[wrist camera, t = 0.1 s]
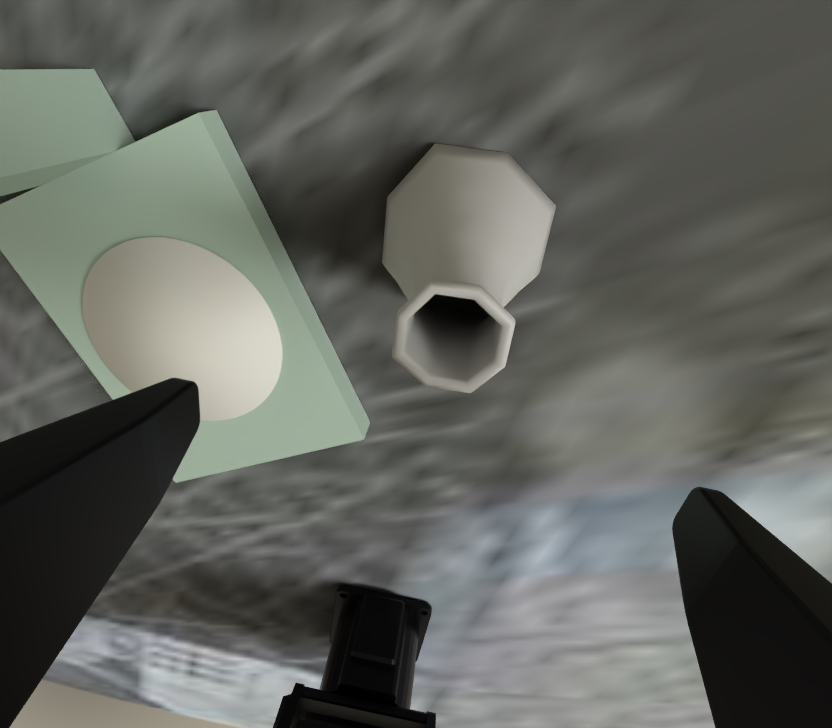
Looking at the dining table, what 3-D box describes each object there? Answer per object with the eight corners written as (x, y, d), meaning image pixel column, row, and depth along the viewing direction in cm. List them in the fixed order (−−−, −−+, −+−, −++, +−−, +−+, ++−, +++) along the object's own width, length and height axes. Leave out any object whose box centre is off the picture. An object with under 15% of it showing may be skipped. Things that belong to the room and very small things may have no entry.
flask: (357, 269, 23) (282, 387, 15) (425, 108, 20) (377, 141, 11) (497, 336, 24) (504, 484, 16) (587, 194, 21) (659, 286, 12)
